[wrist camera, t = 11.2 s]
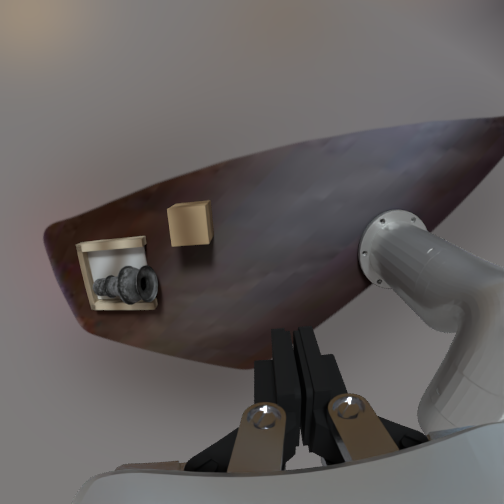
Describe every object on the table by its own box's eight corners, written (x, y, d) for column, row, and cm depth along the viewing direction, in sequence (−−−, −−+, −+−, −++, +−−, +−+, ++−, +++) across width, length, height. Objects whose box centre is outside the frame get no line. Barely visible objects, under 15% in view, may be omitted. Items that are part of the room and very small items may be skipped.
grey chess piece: (154, 310, 42) (99, 311, 46) (162, 275, 45) (107, 281, 49) (131, 292, 38) (75, 295, 41) (141, 255, 41) (86, 263, 44)
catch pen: (145, 235, 44) (141, 238, 42) (157, 304, 47) (154, 309, 45) (81, 242, 44) (75, 245, 42) (96, 305, 47) (91, 309, 46)
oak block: (210, 200, 42) (205, 205, 37) (213, 234, 44) (209, 243, 39) (176, 203, 42) (167, 209, 38) (180, 237, 44) (172, 246, 39)
